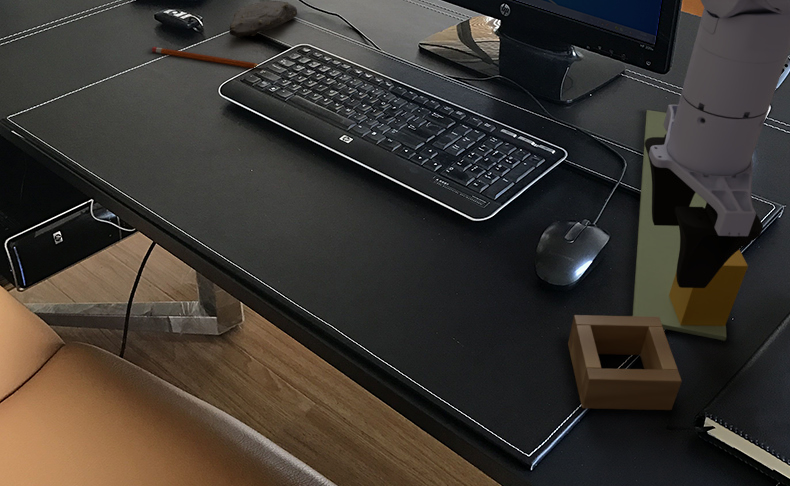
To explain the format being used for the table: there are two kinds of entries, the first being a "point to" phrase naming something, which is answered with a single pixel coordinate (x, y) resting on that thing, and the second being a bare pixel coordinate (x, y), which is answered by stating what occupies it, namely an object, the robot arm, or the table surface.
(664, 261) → the mat
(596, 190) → the table surface
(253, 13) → the stone
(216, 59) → the pencil
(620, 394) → the stand
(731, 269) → the block
